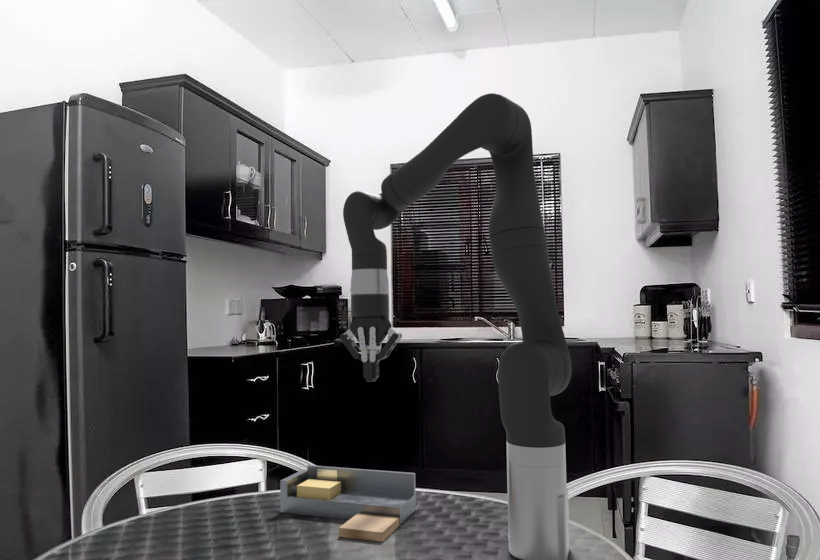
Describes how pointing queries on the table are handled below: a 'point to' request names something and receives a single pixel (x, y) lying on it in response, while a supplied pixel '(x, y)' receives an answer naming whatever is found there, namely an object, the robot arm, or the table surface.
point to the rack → (352, 493)
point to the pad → (369, 527)
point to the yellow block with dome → (319, 489)
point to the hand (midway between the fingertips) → (371, 381)
